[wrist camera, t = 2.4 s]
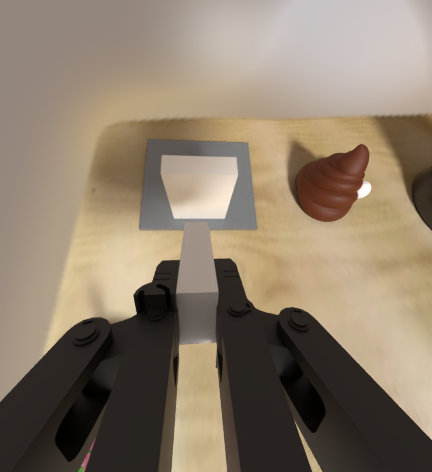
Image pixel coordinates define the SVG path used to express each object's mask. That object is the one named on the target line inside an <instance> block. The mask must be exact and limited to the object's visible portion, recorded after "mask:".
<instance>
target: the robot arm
mask: <svg viewBox="0 0 432 472" xmlns="http://www.w3.org/2000/svg"><path fill="white" fill-rule="evenodd" d="M413 197H414V201H415V204H416V207H417V209H418V211H419V213H420V215H421V216H422V218H423V219H424V221H425V222H426V223H427V224H428V225H429V227H430V228H431V229H432V166H431V167H429V168H428V169H426V170H424V171H423V172H421V173H420V174H419V175H418V176H417V178H416V179H415V182H414V185H413ZM133 296H134V302H135V307H136V312H137V314H136V315H135V316H133V317H131V318H129V319H126V320H124V321H120V322H117V323H114V324H110V323H109V322H108V321H107V320H106V319H104V318H101V317H100V318H90V319H86V320H83V321H81V322H79V323H78V324H76V325H74V326H73V327H72V328H71V329H69V330H68V331H67V332H66V333H65V334H64V335H63V336H62V337H61V338H60V339H59V340H58V342H57V343H56V344H55V345H54V346H53V347H52V348H51V349H50V350H49V351H48V352H47V353H46V354H45V355H44V356H43V357H42V358H41V359H40V361H39V362H38V363H37V364H36V365H35V366H34V367H33V368H32V369H31V370H30V371H29V372H28V373H27V374H26V375H25V376H24V377H23V378H22V380H21V381H20V382H19V383H18V384H17V385H16V386H15V387H14V388H13V389H12V390H11V391H10V392H9V393H8V394H7V395H6V397H4V399H3V400H2V401H1V402H0V472H78V471H79V469H80V468H81V466H82V464H83V462H84V460H85V458H86V456H87V454H88V452H89V450H90V448H91V446H92V444H93V442H94V440H95V442H94V445H93V448H92V451H91V454H90V457H89V460H88V463H87V466H86V469H85V472H171V468H172V454H173V440H174V426H175V412H176V397H177V383H178V369H179V344H180V345H182V344H198V343H214V342H217V356H216V368H218V377H219V388H220V399H221V409H222V420H223V431H224V441H225V452H226V463H227V472H312V470H311V467H310V464H309V461H308V459H307V456H306V453H305V450H304V447H303V444H302V441H301V438H300V436H299V433H298V430H297V427H296V424H297V426H298V427H299V429H300V431H301V433H302V435H303V437H304V438H305V440H306V442H307V444H308V446H309V448H310V449H311V451H312V453H313V455H314V457H315V459H316V460H317V462H318V464H319V466H320V468H321V470H322V472H432V440H431V439H430V438H429V437H428V436H427V435H426V434H425V433H424V432H423V431H422V430H421V429H420V427H419V426H418V425H417V424H416V423H415V422H414V421H413V420H412V419H411V418H410V417H409V416H408V415H407V414H406V413H405V412H404V411H403V410H402V409H401V408H400V407H399V406H398V405H397V404H396V402H395V401H394V400H393V399H392V398H391V397H390V396H389V395H388V394H387V393H386V392H385V391H384V390H383V389H382V388H381V387H380V386H379V385H378V384H377V383H376V382H375V381H374V380H373V378H372V377H371V376H370V375H369V374H368V373H367V372H366V371H365V370H364V369H363V368H362V367H361V366H360V365H359V364H358V363H357V362H356V361H355V360H354V359H353V358H352V357H351V356H350V355H349V353H348V352H347V351H346V350H345V349H344V348H343V347H342V346H341V345H340V344H339V343H338V342H337V341H336V340H335V339H334V338H333V337H332V336H331V335H330V334H329V333H328V332H327V331H326V329H325V328H324V327H323V326H322V325H321V324H320V323H319V322H318V321H317V320H316V319H315V318H314V317H313V316H312V315H310V314H309V313H308V312H306V311H304V310H302V309H299V308H294V307H291V308H285V309H283V310H281V312H280V314H279V315H275V314H271V313H266V312H263V311H260V310H258V309H256V308H255V307H254V305H253V304H252V303H251V302H250V301H249V300H248V299H247V297H246V294H245V291H244V288H243V285H242V281H241V278H240V275H239V272H238V269H237V266H236V264H235V263H234V262H233V261H232V260H231V259H214V258H213V252H212V245H211V238H210V232H209V225H208V222H185V226H184V234H183V242H182V250H181V258H180V260H166V261H162V262H161V263H160V264H159V265H158V266H157V268H156V271H155V275H154V278H153V281H152V283H148V284H146V285H143V286H142V287H140V288H139V289H138V290H137V291H136V292H135V294H134V295H133ZM294 420H295V421H294ZM295 422H296V424H295ZM95 438H96V439H95Z"/></svg>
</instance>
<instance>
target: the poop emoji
mask: <svg viewBox="0 0 432 472" xmlns="http://www.w3.org/2000/svg"><path fill="white" fill-rule="evenodd" d="M368 162H369V151H368V148H367V147H366V146H365V145H363V144H360V145H358V146H357V147H356V148H355V149H354V150H352V151H349V152H347V153H335V154H332V155H331V156H329V157H326V158H322V159H320V160H317V161H313V162H310V163H308V164H307V165H305V166H304V167H303V168H302V169H301V170H300V171H299V173H298V175H297V178H296V187H297V190H298V199H299V202H300V205H301V207H302V208H303V210H304V211H305V212H306V213H307V214H308V215H309V216H310V217H312V218H314V219H316V220H319V221H324V222H331V221H336V220H338V219H340V218H342V217H343V216H345V215H346V214H347V212H348V211H349V210H350V208H351V206H352V204H353V203H354V202H355V201H356V200H357V199H359V198H363V197H365V196H366V195H368V194H369V192H370V191H371V185H370V183H369V182H367V181H363V180H362V179H363V178H364V176H365V173H364V171H365V170H366V168H367V165H368Z"/></svg>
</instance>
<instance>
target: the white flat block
mask: <svg viewBox="0 0 432 472" xmlns="http://www.w3.org/2000/svg"><path fill="white" fill-rule="evenodd" d="M161 176H162V180H163V183H164V187H165V190H166V193H167V197H168V200H169V203H170V207H171V210H172V214H173V217H174V219H225V216H226V213H227V209H228V206H229V203H230V200H231V196H232V193H233V190H234V186H235V183H236V180H237V177H238V169H237V157H210V156H177V155H162V159H161Z"/></svg>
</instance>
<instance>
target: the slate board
mask: <svg viewBox="0 0 432 472" xmlns="http://www.w3.org/2000/svg"><path fill="white" fill-rule="evenodd" d="M162 155H177V156H210V157H237V169H238V177H237V180H236V183H235V186H234V190H233V193H232V196H231V200H230V203H229V206H228V209H227V213H226V216H225V219H174V217H173V214H172V210H171V207H170V203H169V200H168V197H167V193H166V190H165V187H164V183H163V180H162V176H161V159H162ZM185 222H208V225H209V230H256V229H257V222H256V213H255V203H254V194H253V185H252V175H251V166H250V156H249V147H248V143H238V142H210V141H183V140H155V139H148V142H147V152H146V163H145V173H144V183H143V194H142V204H141V215H140V225H139V229H140V230H184V226H185Z"/></svg>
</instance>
